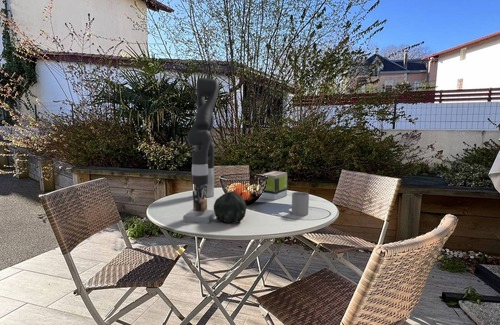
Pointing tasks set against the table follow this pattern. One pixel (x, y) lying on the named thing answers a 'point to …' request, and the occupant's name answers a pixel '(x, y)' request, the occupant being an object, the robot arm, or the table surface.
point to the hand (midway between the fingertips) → (200, 209)
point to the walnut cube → (203, 205)
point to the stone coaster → (199, 216)
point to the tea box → (275, 185)
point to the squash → (230, 207)
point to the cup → (300, 203)
